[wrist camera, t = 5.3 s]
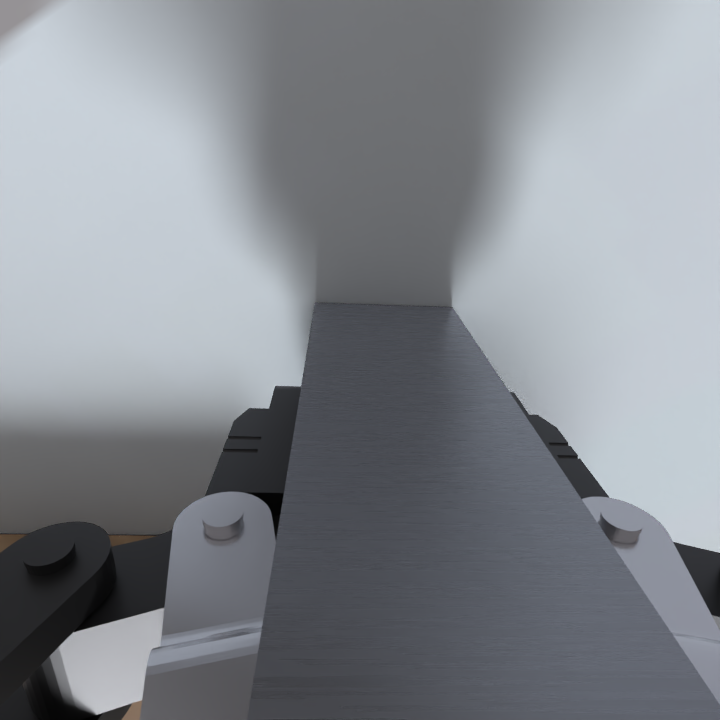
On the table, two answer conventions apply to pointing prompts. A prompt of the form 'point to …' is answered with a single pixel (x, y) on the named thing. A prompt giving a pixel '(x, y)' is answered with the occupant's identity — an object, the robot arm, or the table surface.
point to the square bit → (445, 551)
